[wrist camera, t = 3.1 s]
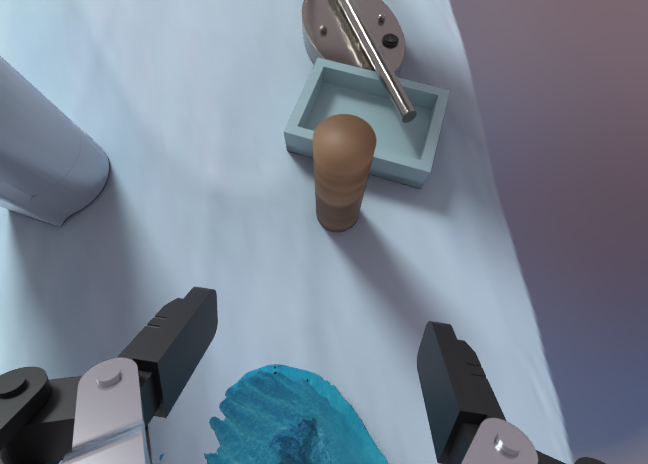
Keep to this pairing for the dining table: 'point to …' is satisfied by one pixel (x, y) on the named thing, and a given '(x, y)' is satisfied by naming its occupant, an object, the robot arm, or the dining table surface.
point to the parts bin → (371, 118)
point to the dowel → (341, 168)
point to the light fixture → (359, 41)
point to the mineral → (289, 422)
